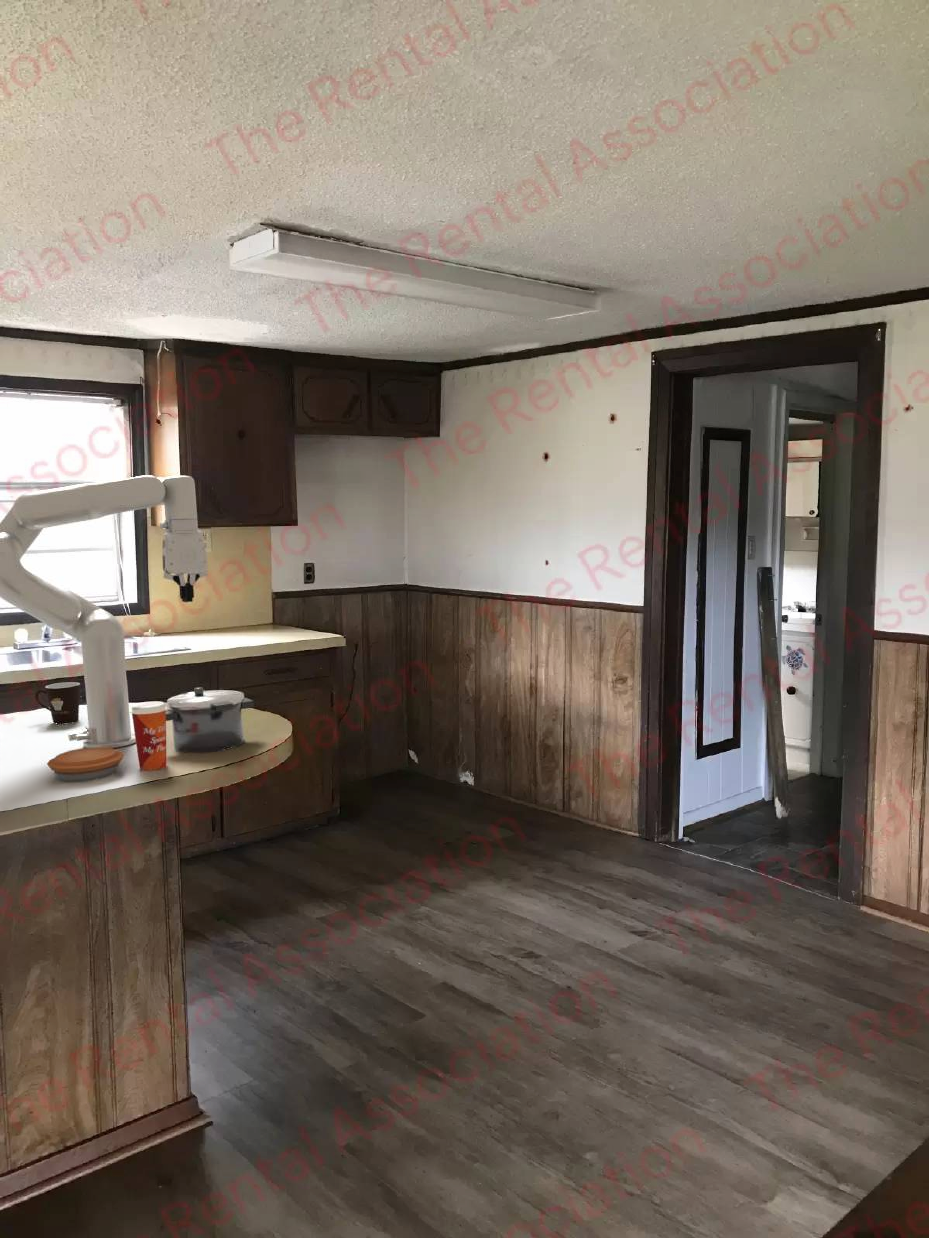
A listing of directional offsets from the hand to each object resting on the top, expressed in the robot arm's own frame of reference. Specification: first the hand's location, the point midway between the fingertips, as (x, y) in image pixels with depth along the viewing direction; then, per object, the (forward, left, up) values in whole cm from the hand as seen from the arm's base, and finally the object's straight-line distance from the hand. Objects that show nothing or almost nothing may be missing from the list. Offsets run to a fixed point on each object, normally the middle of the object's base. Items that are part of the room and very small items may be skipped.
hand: (187, 601), depth 249 cm
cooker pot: (-2, -13, -33) cm, 35 cm away
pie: (-32, -22, -34) cm, 51 cm away
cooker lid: (-2, -15, -23) cm, 28 cm away
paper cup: (-19, -26, -33) cm, 46 cm away
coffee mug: (-23, +41, -33) cm, 58 cm away
